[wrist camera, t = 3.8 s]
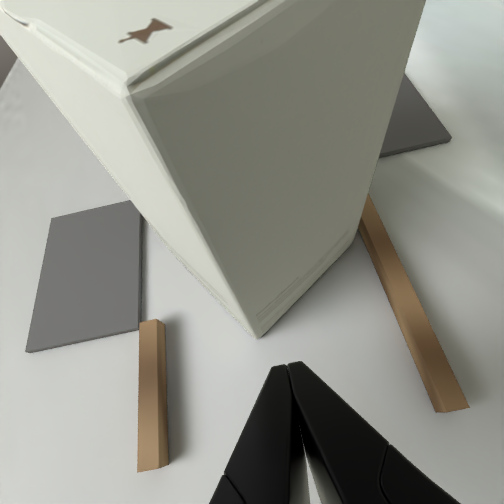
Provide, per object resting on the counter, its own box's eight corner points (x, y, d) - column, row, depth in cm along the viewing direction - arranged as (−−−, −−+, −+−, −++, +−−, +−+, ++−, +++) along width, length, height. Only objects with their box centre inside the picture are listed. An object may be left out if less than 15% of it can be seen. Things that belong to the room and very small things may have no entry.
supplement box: (359, 241, 19) (493, -144, 6) (257, 344, 17) (112, 99, 4) (259, 172, 23) (206, -153, 10) (166, 248, 21) (-61, -36, 8)
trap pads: (526, 247, 17) (531, 243, 17) (30, 353, 18) (25, 351, 18) (393, 65, 27) (394, 60, 26) (70, 142, 28) (67, 139, 27)
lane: (457, 408, 14) (493, 406, 11) (148, 468, 15) (116, 480, 12) (299, 60, 29) (299, 25, 26) (148, 97, 29) (133, 66, 27)
